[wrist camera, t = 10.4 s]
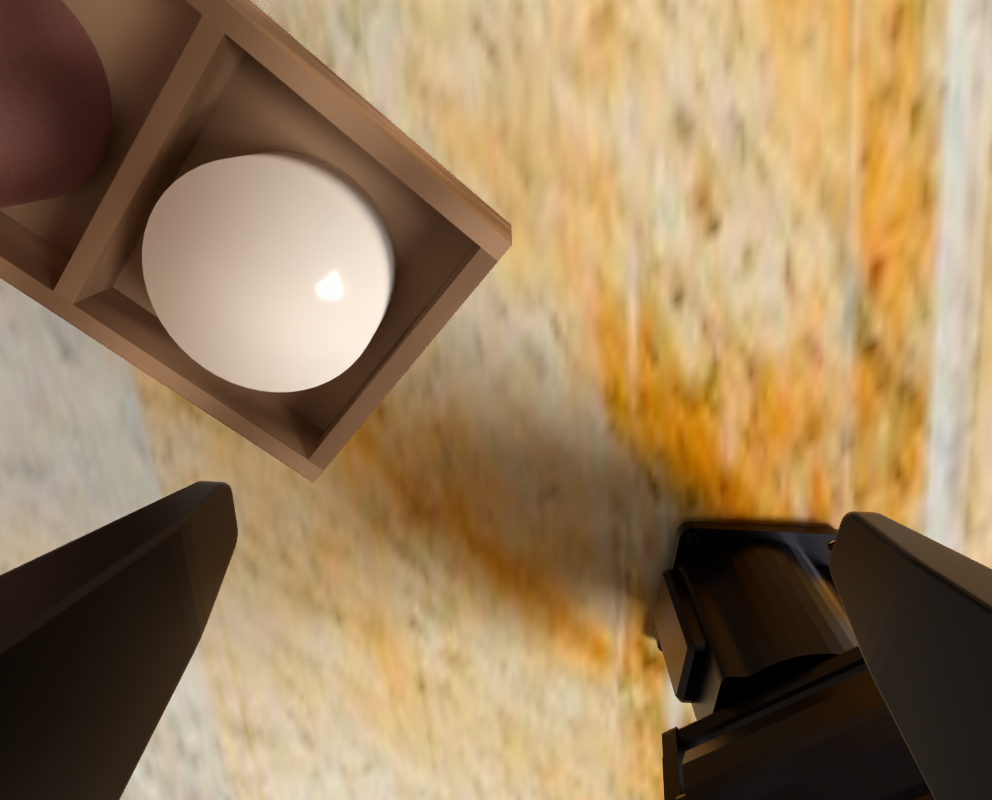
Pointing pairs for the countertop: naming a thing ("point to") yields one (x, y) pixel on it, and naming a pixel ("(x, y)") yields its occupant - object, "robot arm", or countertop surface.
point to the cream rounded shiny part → (270, 269)
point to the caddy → (226, 134)
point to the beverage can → (49, 102)
